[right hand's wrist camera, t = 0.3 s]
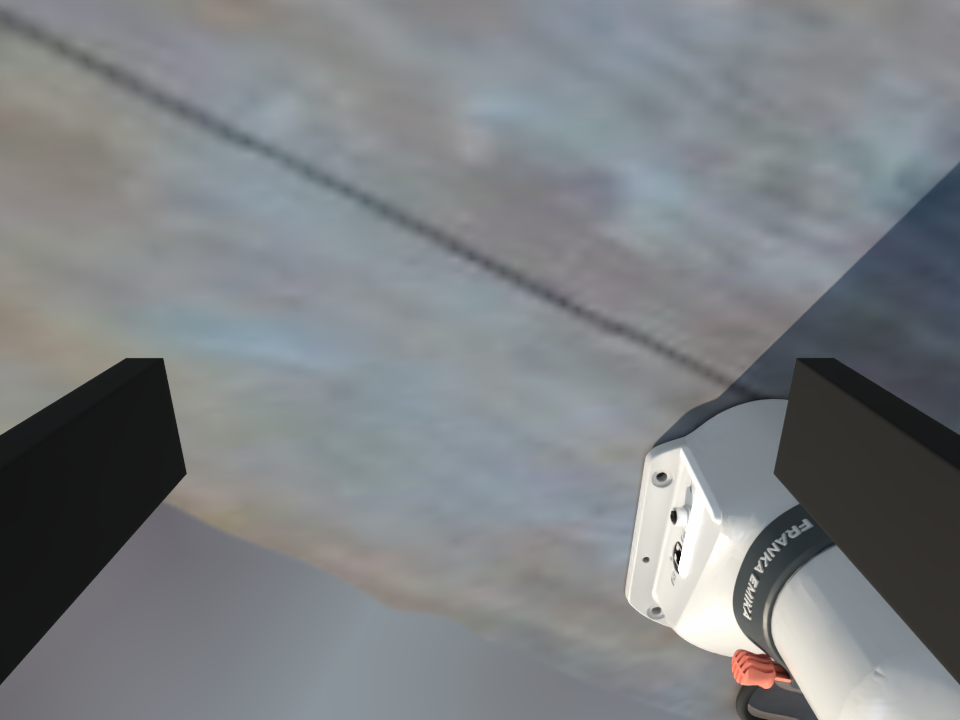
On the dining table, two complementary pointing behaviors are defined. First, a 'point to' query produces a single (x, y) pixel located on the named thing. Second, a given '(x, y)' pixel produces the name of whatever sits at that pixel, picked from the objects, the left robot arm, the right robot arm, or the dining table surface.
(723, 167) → the dining table surface
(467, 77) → the dining table surface
